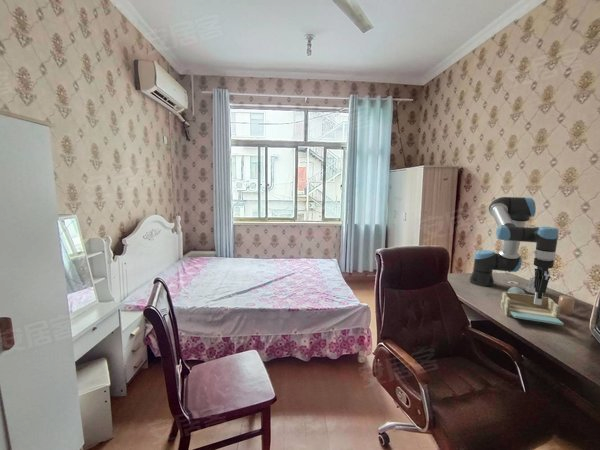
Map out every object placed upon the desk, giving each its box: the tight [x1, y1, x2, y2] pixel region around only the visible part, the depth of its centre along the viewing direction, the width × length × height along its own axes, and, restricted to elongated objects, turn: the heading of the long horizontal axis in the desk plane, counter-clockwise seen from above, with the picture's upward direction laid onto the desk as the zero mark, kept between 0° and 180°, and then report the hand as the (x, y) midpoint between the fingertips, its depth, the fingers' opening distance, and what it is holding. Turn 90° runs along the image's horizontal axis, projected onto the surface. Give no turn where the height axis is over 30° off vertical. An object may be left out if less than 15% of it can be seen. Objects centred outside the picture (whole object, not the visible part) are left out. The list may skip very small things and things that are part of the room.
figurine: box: [525, 275, 535, 294], centre depth 195 cm, size 12×9×10 cm
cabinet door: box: [510, 311, 565, 326], centre depth 149 cm, size 1×20×9 cm
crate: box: [499, 291, 560, 320], centre depth 160 cm, size 14×22×9 cm, turn 67°
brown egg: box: [557, 294, 576, 317], centre depth 162 cm, size 6×6×9 cm
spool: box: [507, 286, 527, 294], centre depth 178 cm, size 14×10×10 cm
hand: (537, 303), depth 148 cm, fingers closed
